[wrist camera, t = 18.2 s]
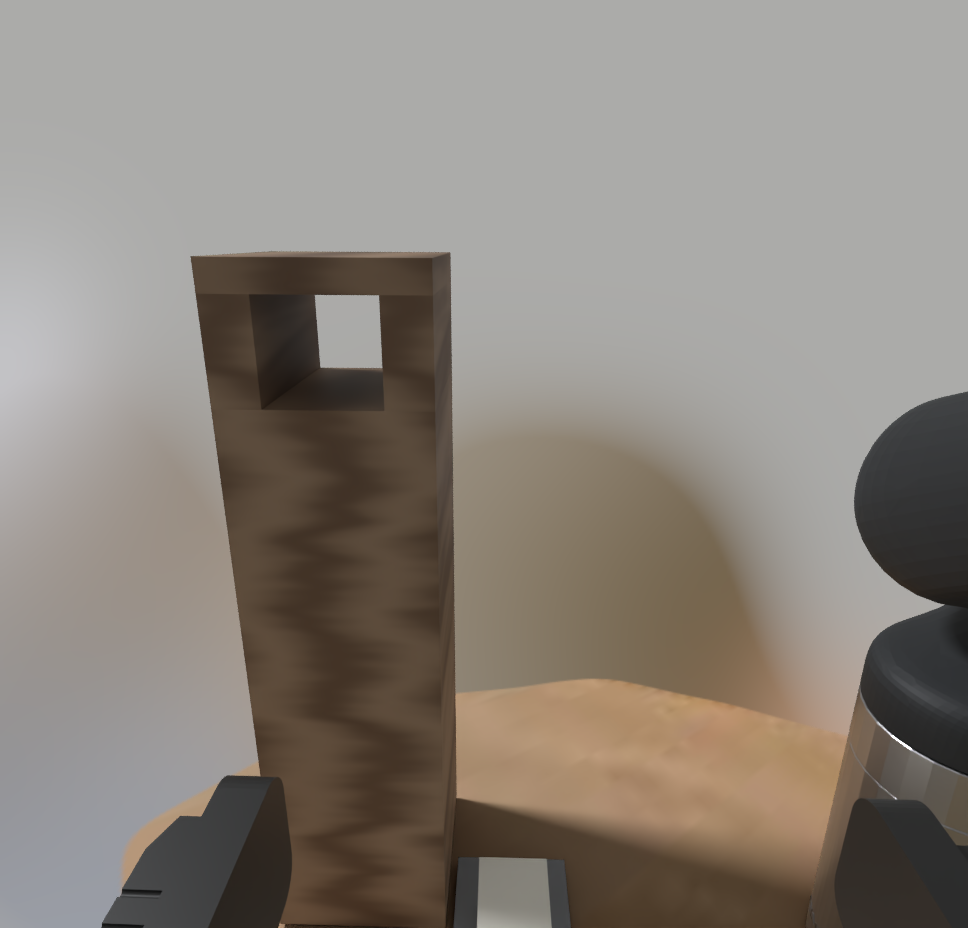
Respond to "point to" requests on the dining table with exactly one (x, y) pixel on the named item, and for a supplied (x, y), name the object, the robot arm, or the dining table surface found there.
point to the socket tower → (343, 569)
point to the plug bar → (513, 893)
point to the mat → (469, 893)
